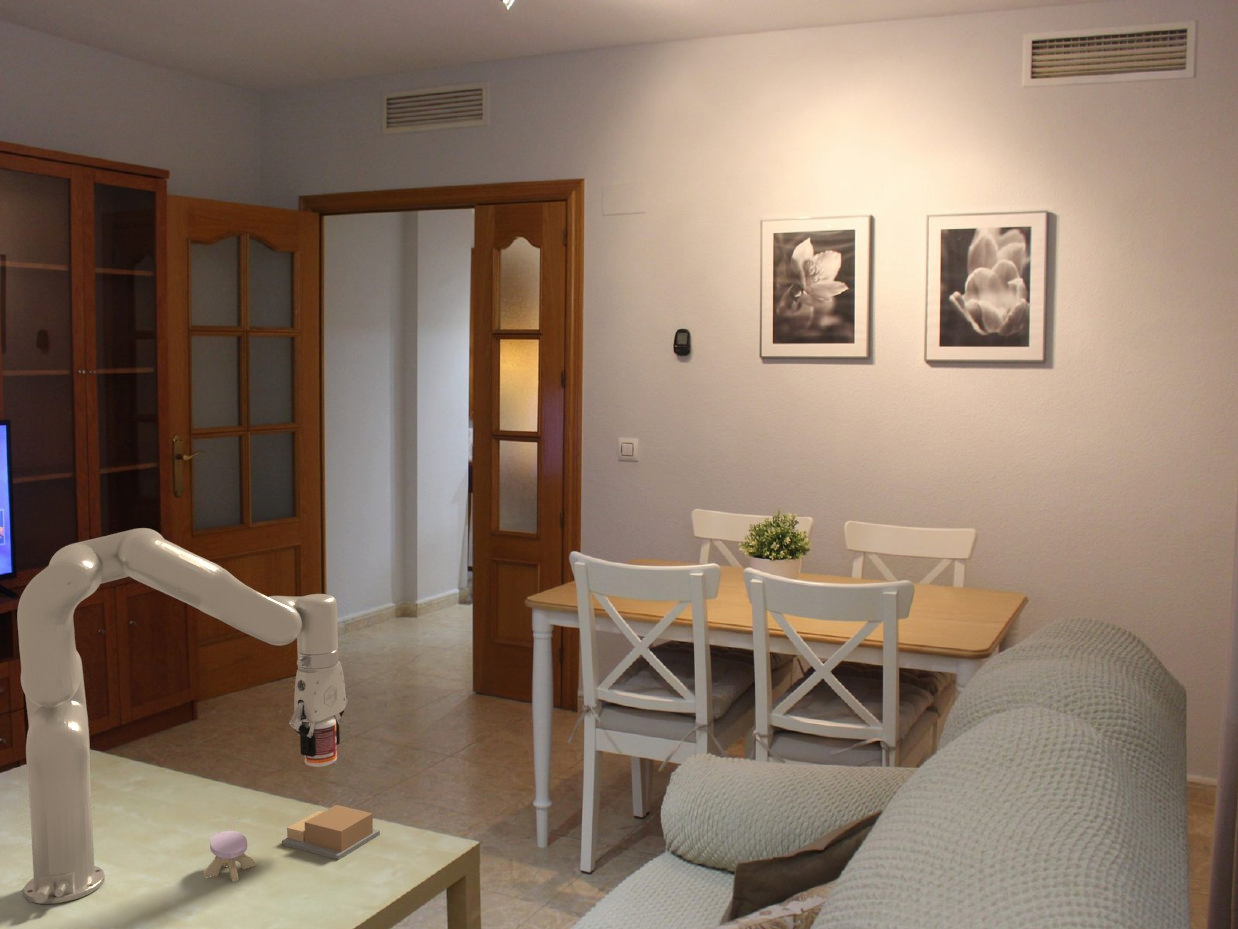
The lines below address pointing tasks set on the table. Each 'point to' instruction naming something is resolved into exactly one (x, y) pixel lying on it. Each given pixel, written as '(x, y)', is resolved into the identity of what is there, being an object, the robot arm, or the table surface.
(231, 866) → the toy table
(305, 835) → the stand
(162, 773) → the table surface
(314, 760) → the pill bottle
